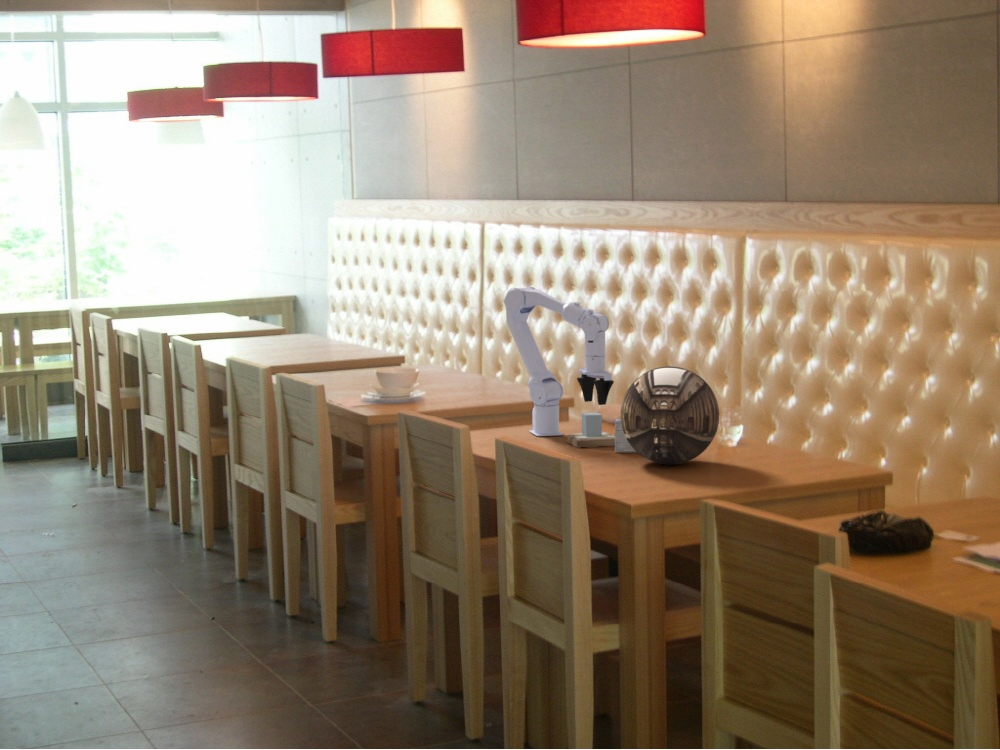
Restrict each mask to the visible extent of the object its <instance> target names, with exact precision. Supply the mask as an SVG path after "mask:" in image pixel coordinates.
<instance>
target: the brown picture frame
mask: <svg viewBox="0 0 1000 750" xmlns="http://www.w3.org/2000/svg"><path fill="white" fill-rule="evenodd" d="M567 443H568V444H570V445H571V444H572V445H571V446H573V447H575V448H577V449H582V448H581V447H589V448H599V447H598V446H608V447H615V435H613V434H612V433H609V432H607V431H602V436H595V437H585V436H584V435H582V432H580V433H571V434H568V435H567Z"/></svg>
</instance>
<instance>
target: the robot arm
mask: <svg viewBox="0 0 1000 750" xmlns="http://www.w3.org/2000/svg"><path fill="white" fill-rule="evenodd" d="M503 303H504V306H505V308H506V309H505V310H506V311H505V313H506V315H505V316H506V317H505V318H506V324H507V326H508V329H509V331H510V334H511V335H512V338H513V341H514V342H515V345H516V347H517V349H518V352H519V354H520V356H521V358H522V359H521V360H523V363H524V366H525V368H526V370H527V372H528V375H529V379H528V382H527V386H528V389H529V397H530V400H531V401H532V402H533V408H532V412H531V414H532V416H531V417H532V420H531V421H532V429H530V430H529V432H530V433H531V434H533V435H534V436H536V437H553V436H564V433H563V432H561V431H560V405H559V404H560V400H561V399H562V397H563V395H564V387H563V385H562V383H561V382H560V381H559V380H558V379H557V378H556V376H555V374H554V373H553V372H551V371H550V370H549V369H548V368H547V366H546V365H547V364H546V363H545V360H544V359H543V356H542V355H541V352H540V349H539V347H538V345H537V342H536V341H535V338H534V335H533V333H532V332H531V329H530V327H529V324H528V322H527V320H528V318H529V316H530V314H531V313H532V312H533V310H534V309H535V308H536V307H537V306H539V307H542V308H545V309H547V310H550V311H552V312H554V313H557V314H560V315H561V317H562V320H563V321H565V322H567V323H568V324H571V325H573V326H574V327H575V326H576V327H577V328H580V329H581V330H582V332H583V333H584V338H585V339H584V340H585V342H584V348H585V349H584V368H579V370H578V371H579V373H578V374H579V375H578V376H580V377H576V380H577V381H578V382H577V383H578V384H579V386H580V388H581V392H582V396H583V400H584V402H585V403H587V402H592V401H593V396H594V388H595V389H596V396H597V404H598V405H599V406H604V405H605V406H606V405H607V401H608V397H609V393H610V391H611V388H612V386H613V385H614V384H615V382H614V380H612V379H613V377H612V373H611V372H608V371H607V370H606V331H607V330H608V329H609V326H610V322H609V318H608V317H607V315H605V314H604V313H603V312H594V309H592V308H589V309H588V308H586V307H583V306H582V305H581V303H580V302H579V301H578V302H577V301H574V302H569V303H565V302H563V301H561V300H559V299H558V298H556V297H554V296H552V295H550V294H548V293H546V292H545V291H543V290H542V289H540V288H539V289H538V288H535V287H534V286H526V287H525V286H524V287H512V288H510V289H509V290H508V291H507V292H506V294H505V296H504V299H503Z"/></svg>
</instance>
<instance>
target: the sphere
mask: <svg viewBox="0 0 1000 750" xmlns="http://www.w3.org/2000/svg"><path fill="white" fill-rule="evenodd" d="M620 406H621V407H620V419H621V425H622V429H623V432H624V435H625V437H626V439H627V441H628V442H629V444H630V445H631V446H632V447H633V449H634V450H635V451H636V452H635V453H638V455H641V456H642V457H643V458H645V459H646V460H648V461H651V462H653V463H656V464H660V465H670V466H671V465H679V464H684V463H687V462H689V461H692V460H694V459H695V458H697V457H699V456H700V455H701V454H703V453H704V452H705V451H706V450H707V449H708V447H710V445H711V444H712V442H713V440H714V439H715V436H716V434H717V431H718V428H719V424H720V409H719V403H718V400H717V397H716V395H715V393H714V390H713V389H712V388H711V387H710V385H709V384H708V383H707V381H705V380H704V378H702V376H700V375H698V374H697V373H696V372H694V371H692V370H689V369H687V368H684V367H679V366H668V365H667V366H660V367H657V368H653V369H650V370H649V371H646V372H644V373H642V374H641V375H640V376H638V377H637V378H636V379H635V380H634V381H633V382H632V383H631V385H629V387H628V388H627V390H626V392H625V394H624V396H623V399H622V401H621V405H620Z"/></svg>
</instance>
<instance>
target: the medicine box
mask: <svg viewBox="0 0 1000 750" xmlns="http://www.w3.org/2000/svg"><path fill="white" fill-rule="evenodd" d="M614 436H615V446H614V453H637V452H636V451H635V450H634V449H633V447H632V446H631V445H630V444H629V442H628V441H627V439H626V437H625V435H624V432H623V429H622V425H621V418H615V420H614Z"/></svg>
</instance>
